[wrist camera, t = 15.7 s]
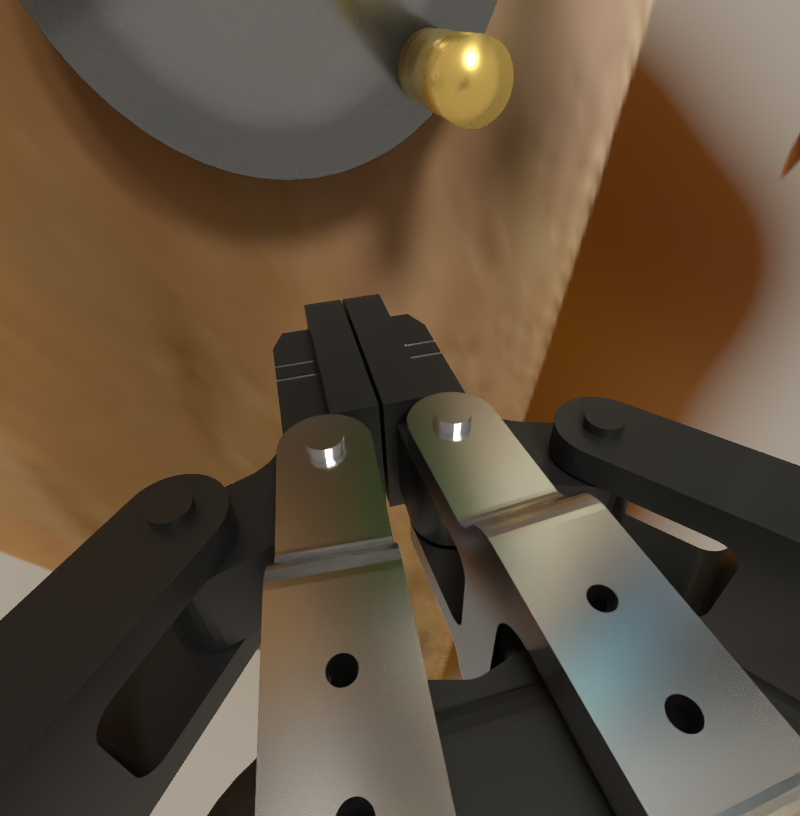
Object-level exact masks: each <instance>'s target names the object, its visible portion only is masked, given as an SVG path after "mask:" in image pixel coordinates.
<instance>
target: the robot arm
mask: <svg viewBox="0 0 800 816" xmlns="http://www.w3.org/2000/svg"><path fill="white" fill-rule="evenodd" d="M342 304H343V305H342ZM304 307H305V314H306V320H307V326H308V330H302V331H296V332H290V333H283V334H282V335H281V337H280V338H279V340H278V342H277V343H276V345H275V347H274V349H273V353H274V361H275V368H276V369H275V370H276V378H277V387H278V396H279V404H280V413H281V421H282V430H283V436H282V437H281V439H280V441H279V443H278V446H277V453H276V455H275V456H274V458H273V459H272V460H271V461H270V462H269V463H268V464H267V465H265V466H264V467H263V468H262V469H260V470H259V471H257V472H256V473H254V474H252V475H250V476H248V477H246V478H244V479H242V480H240V481H237V482H235V483H233V484H231V485H229V486H226V487H223V485H222V484H221V483H220V482H218V481H217V480H216V479H213V478H211V477H209V476H205V475H200V474H183V475H177V476H173V477H169V478H166V479H163V480H161V481H158V482H156V483H154V484H152V485H150V486H148V487H147V488H145V489H144V490H142V491H140V492H139V493H138V494H137V495H136V496H134V497H133V498H132V499H131V500H130V501H129V502H128V503H127V504H125V505H124V506H123V507H122V508H121V509H120V510H119V511H118V512H117V513H116V514H115V515H114V516H112V517H111V518H110V519H109V520H108V521H107V522H106V523H105V524H104V525H103V526H102V527H101V528H100V529H98V530H97V531H96V532H95V533H94V534H93V535H92V536H91V537H90V538H89V539H88V540H87V541H86V542H84V543H83V544H82V545H81V546H80V547H79V548H78V549H77V550H76V551H75V552H74V553H73V554H72V555H70V556H69V557H68V558H67V559H66V560H65V561H64V562H63V563H62V564H61V565H60V566H59V567H57V568H56V569H55V570H54V571H53V572H52V573H51V574H50V575H49V576H48V577H47V578H46V579H45V580H44V581H42V582H41V583H40V584H39V585H38V586H37V587H36V588H35V589H34V590H33V591H32V592H31V593H29V594H28V595H27V596H26V597H25V598H24V599H23V600H22V601H21V602H20V603H19V604H18V605H17V606H16V607H14V608H13V609H12V610H11V611H10V612H9V613H8V614H7V615H6V616H5V617H4V618H2V620H0V816H149V815H150V814H151V812H152V810H153V809H154V807H155V806H156V804H157V803H158V801H159V800H160V798H161V796H162V795H163V793H164V792H165V790H166V789H167V787H168V786H169V784H170V783H171V781H172V780H173V778H174V777H175V775H176V773H177V772H178V770H179V769H180V767H181V766H182V764H183V763H184V761H185V760H186V758H187V756H188V755H189V753H190V752H191V750H192V749H193V747H194V745H195V744H196V743H197V741H198V739H199V738H200V736H201V735H202V733H203V732H204V730H205V728H206V727H207V725H208V724H209V722H210V721H211V719H212V718H213V716H214V715H215V713H216V712H217V710H218V708H219V707H220V705H221V704H222V702H223V701H224V699H225V698H226V696H227V695H228V693H229V692H230V690H231V688H232V687H233V685H234V684H235V682H236V681H237V679H238V678H239V676H240V675H241V673H242V672H243V670H244V668H245V667H246V665H247V664H248V662H249V661H250V659H251V658H252V656H253V655H254V653H255V651H256V650H257V648H258V647H259V645H260V644H261V653H260V654H261V655H260V683H259V710H258V740H257V758H256V759H255V760H254V761H253V762H252V763H251V764H250V765H249V766H248V767H247V768H246V769H245V770H244V771H243V772H242V773H241V774H240V775H239V776H238V777H237V778H236V779H235V780H234V781H233V783H232V784H231V785H230V786H229V788H228V789H227V790H226V791H225V792H224V793H223V795H222V796H221V797H220V798H219V799H218V801H217V802H216V804H215V805H214V806H213V808H212V809H211V811H210V812H209V814H208V815H207V816H800V466H798V465H796V464H792V463H790V462H787V461H784V460H781V459H779V458H776V457H773V456H770V455H768V454H765V453H762V452H759V451H756V450H753V449H751V448H748V447H745V446H742V445H740V444H737V443H734V442H731V441H728V440H725V439H723V438H720V437H717V436H714V435H711V434H709V433H706V432H703V431H700V430H698V429H695V428H692V427H689V426H686V425H684V424H681V423H678V422H675V421H672V420H670V419H667V418H664V417H661V416H658V415H656V414H653V413H650V412H647V411H644V410H641V409H639V408H636V407H633V406H630V405H627V404H625V403H622V402H619V401H616V400H613V399H608V398H603V397H580V398H576V399H572V400H570V401H567V402H566V403H564V404H563V405H561V406H560V407H559V408H558V410H557V412H556V414H555V417H554V422H553V423H541V422H518V421H509V420H504V419H501V418H500V416H499V415H498V414H497V412H496V411H495V410H494V409H493V408H492V407H491V406H490V405H489V404H488V403H487V402H485V401H484V400H482V399H480V398H478V397H476V396H473V395H470V394H466V393H465V392H464V390H463V389H462V387H461V385H460V384H459V382H458V380H457V378H456V377H455V375H454V373H453V372H452V370H451V368H450V367H449V365H448V363H447V362H446V360H445V358H444V357H443V355H442V354H440V350H439V348H438V346H437V345H436V343H435V342H433V338H432V336H431V335H430V333H429V331H428V330H427V328H426V326H425V325H424V324H423V323H421V322H419V321H418V320H416V319H415V318H413V317H411V316H410V315H408V314H404V315H398V316H392V317H390V315H389V313H388V311H387V309H386V307H385V305H384V303H383V301H382V299H381V297H380V296H379V294H376V295H369V296H362V297H355V298H349V299H343V302H341V300H336V301H329V302H322V303H315V304H309V305H304ZM385 492H386V494H385ZM386 495H387V498H388V501H389V505H390V507H392V506H396V505H401V504H405V505H406V508H407V511H408V514H409V517H410V533H411V540H412V543H413V546H414V548H415V550H416V553H417V555H418V557H419V560H420V562H421V564H422V567H423V569H424V571H425V574H426V576H427V578H428V581H429V583H430V585H431V588H432V590H433V592H434V595H435V597H436V599H437V601H438V604H439V606H440V608H441V611H442V613H443V615H444V618H445V620H446V622H447V625H448V627H449V629H450V632H451V634H452V637H453V640H454V643H455V647H456V651H457V655H458V661H459V665H460V670H461V673H462V677H463V680H427V676H426V671H425V667H424V662H423V657H422V652H421V648H420V643H419V638H418V634H417V629H416V624H415V619H414V615H413V610H412V605H411V600H410V596H409V591H408V586H407V582H406V577H405V572H404V567H403V563H402V558H401V554H400V551H399V547H398V544H397V543H394V541H393V536H392V532H391V527H390V522H389V517H388V512H387V507H386ZM629 502H632V503H635V504H636V505H639V506H641V507H643V508H645V509H648V510H650V511H652V512H654V513H657V514H659V515H661V516H663V517H665V518H668V519H670V520H672V521H674V522H677V523H679V524H681V525H683V526H686V527H688V528H690V529H692V530H694V531H697V532H699V533H701V534H703V535H706V536H708V537H710V538H712V539H714V540H717V541H719V542H720V543H722V544H724V545H725V546H726V547H728V548H727V549H725V550H722V551H707V550H703V549H700V548H698V547H696V546H693V545H691V544H689V543H687V542H685V541H683V540H680V539H678V538H676V537H674V536H672V535H669V534H667V533H665V532H663V531H661V530H658V529H657V528H654V527H652V526H650V525H648V524H646V523H644V522H641V521H639V520H637V519H635V518H633V517H631V516H628V515H626V514H625V513H626V510H627V507H628V505H629Z"/></svg>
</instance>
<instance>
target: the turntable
mask: <svg viewBox="0 0 800 816" xmlns="http://www.w3.org/2000/svg"><path fill="white" fill-rule="evenodd" d="M20 1H21V3H22V4H23V6H24V7H25V8H26V10H27V11H28V12H29V14H30V15H31V17H32V18H33V19H34V21H35V22H36V23H37V25H38V26H39V28H40V29H41V30H42V32H43V33H44V34H45V36H46V37H47V39H48V40H49V41H50V43H51V44H52V45H53V46H54V47H55V49H56V50H57V51H58V52H59V53H60V54H61V55H62V57H63V58H64V59H65V60H66V61H67V62H68V63H69V65H70V66H71V67H72V68H73V69H74V70H75V71H76V72H77V74H78V75H79V76H80V77H81V78H82V79H83V80H84V81H85V82H86V83H87V84H88V85H89V86H90V87H91V88H93V89H94V90H95V91H96V92H97V93H98V94H99V95H100V96H101V97H102V98H103V99H104V100H105V101H106V102H107V103H108V104H110V105H111V106H112V107H113V108H114V109H115V110H117V111H118V112H119V113H121V114H122V115H123V116H125V117H126V118H127V119H128V120H130V121H131V122H132V123H134V124H135V125H136V126H138V127H139V128H140V129H141V130H143V131H145V132H146V133H148V134H149V135H151V136H153V137H154V138H156V139H158V140H159V141H161V142H162V143H164V144H166V145H167V146H169V147H171V148H172V149H174V150H176V151H178V152H181V153H183V154H185V155H187V156H189V157H191V158H193V159H195V160H198V161H200V162H202V163H204V164H207V165H210V166H213V167H216V168H219V169H222V170H225V171H228V172H231V173H236V174H241V175H246V176H251V177H256V178H264V179H279V180H296V179H310V178H318V177H322V176H327V175H332V174H336V173H341V172H344V171H346V170H349V169H352V168H354V167H357V166H360V165H363V164H365V163H367V162H369V161H371V160H373V159H375V158H376V157H378V156H380V155H382V154H384V153H386V152H388V151H389V150H391V149H392V148H393V147H395V146H396V145H398V144H399V143H400V142H402V141H403V140H405V139H406V138H407V137H409V136H410V135H411V134H412V133H413V132H415V131H416V130H417V129H418V128H419V127H420V126H421V125H422V124H423V123H424V122H425V121H426V120H427V119H428V118H429V117H430V116H432V114H433V113H435V114H437V115H438V116H440V117H442V118H444V119H446V120H448V121H449V122H451V123H453V124H455V125H457V126H459V127H461V128H465V129H477V128H481V127H484V126H486V125H488V124H489V123H491V122H492V121H494V120H495V119H496V118H497V117H498V116H499V115H500V114H501V112H502V111H503V109H504V108H505V106H506V105H507V103H508V100H509V98H510V95H511V92H512V88H513V81H514V70H513V64H512V60H511V57H510V54H509V52H508V50H507V49H506V47H505V46H504V45H503V44H502V43H501V42H500V41H499V40H498V39H496V38H495V37H493V36H490V35H487V34H485V31H486V28H487V26H488V23H489V21H490V18H491V16H492V13H493V10H494V8H495V5H496V3H497V0H20Z"/></svg>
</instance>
